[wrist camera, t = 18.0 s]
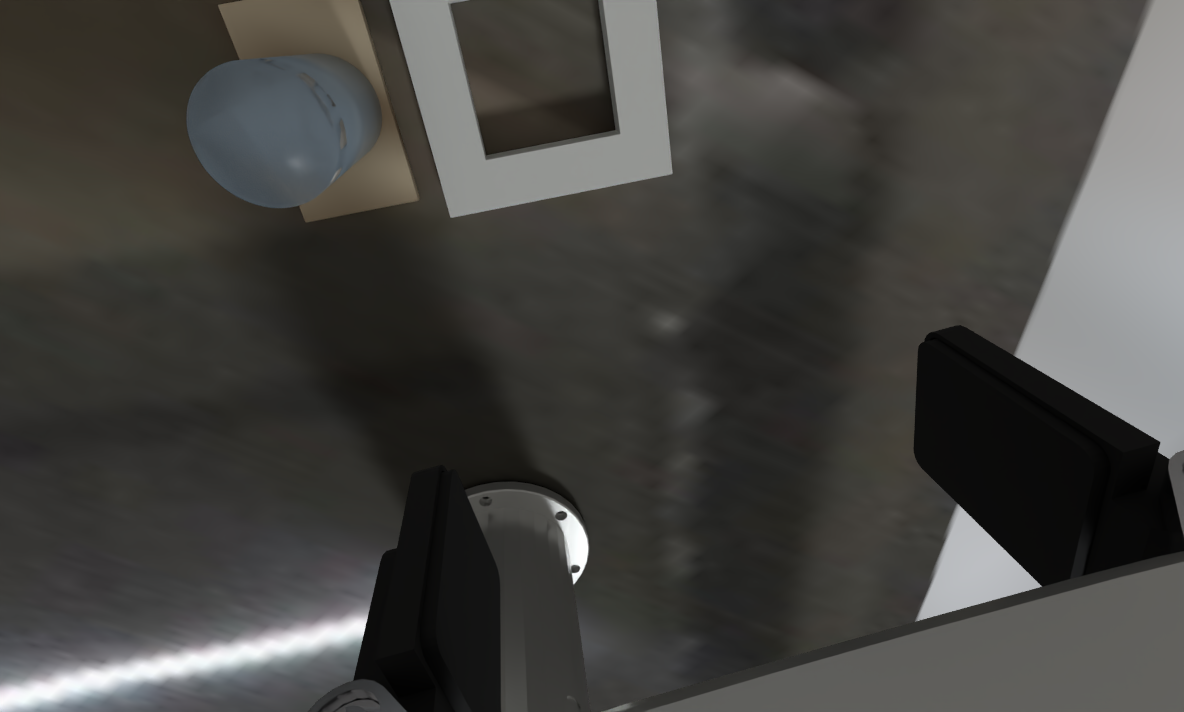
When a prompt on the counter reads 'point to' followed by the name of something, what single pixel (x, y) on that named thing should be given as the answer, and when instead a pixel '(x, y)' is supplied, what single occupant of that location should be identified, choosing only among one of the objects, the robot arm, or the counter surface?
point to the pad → (339, 28)
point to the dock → (543, 167)
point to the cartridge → (282, 125)
